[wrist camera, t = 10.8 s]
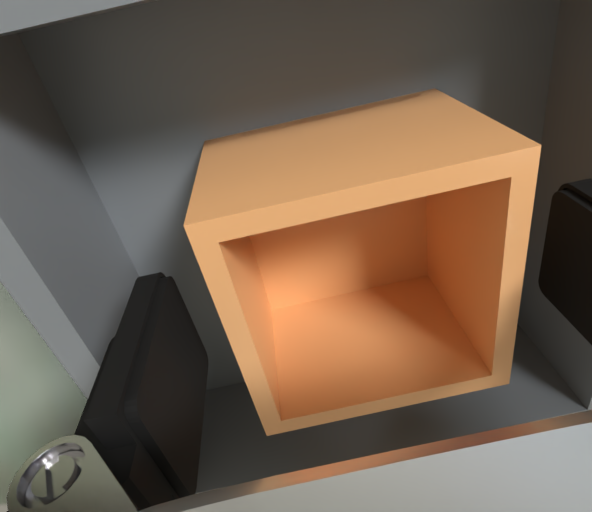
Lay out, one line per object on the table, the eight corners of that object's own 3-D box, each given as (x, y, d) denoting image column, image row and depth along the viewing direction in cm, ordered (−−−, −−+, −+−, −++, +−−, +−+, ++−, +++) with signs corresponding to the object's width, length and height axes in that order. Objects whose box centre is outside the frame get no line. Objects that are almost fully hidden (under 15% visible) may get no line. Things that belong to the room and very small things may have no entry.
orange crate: (434, 88, 12) (541, 145, 8) (436, 275, 15) (509, 383, 11) (204, 140, 12) (183, 225, 8) (260, 314, 15) (266, 436, 11)
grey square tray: (590, -142, 10) (842, -236, 6) (523, 319, 18) (606, 419, 14) (-18, 1, 10) (-199, 11, 6) (187, 392, 18) (170, 512, 14)
